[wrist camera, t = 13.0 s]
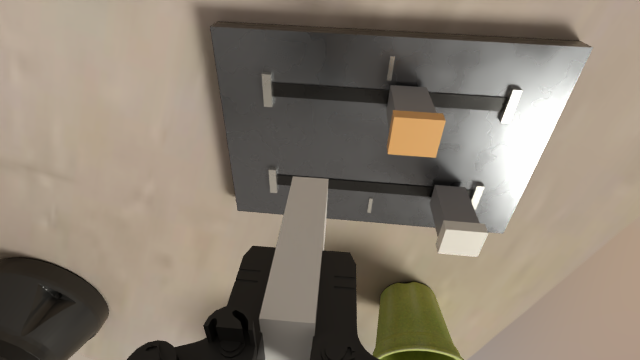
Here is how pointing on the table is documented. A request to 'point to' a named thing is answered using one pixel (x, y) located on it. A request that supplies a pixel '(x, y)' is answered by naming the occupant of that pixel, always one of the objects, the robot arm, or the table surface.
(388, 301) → the plant pot
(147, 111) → the table surface
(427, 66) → the console
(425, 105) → the fader orange
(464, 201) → the fader white
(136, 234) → the table surface
